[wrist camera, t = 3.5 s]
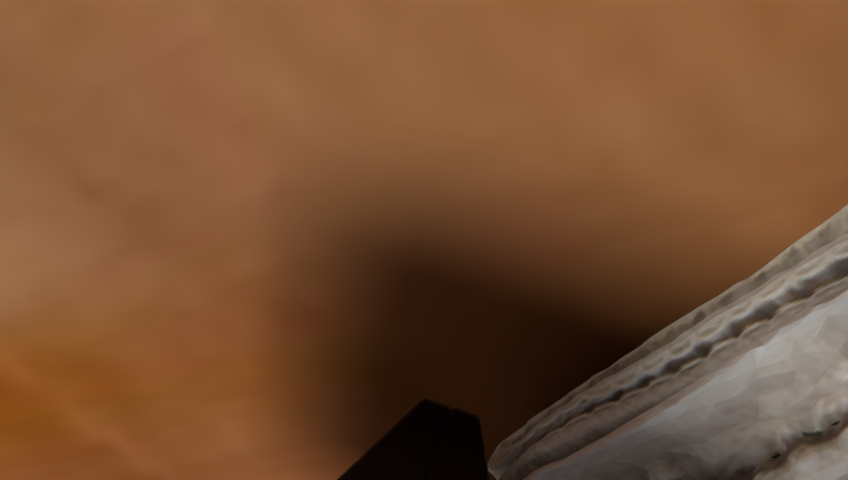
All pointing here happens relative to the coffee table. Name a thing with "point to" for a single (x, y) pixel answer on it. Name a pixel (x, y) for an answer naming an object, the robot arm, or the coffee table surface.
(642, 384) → the washcloth
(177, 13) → the coffee table surface
